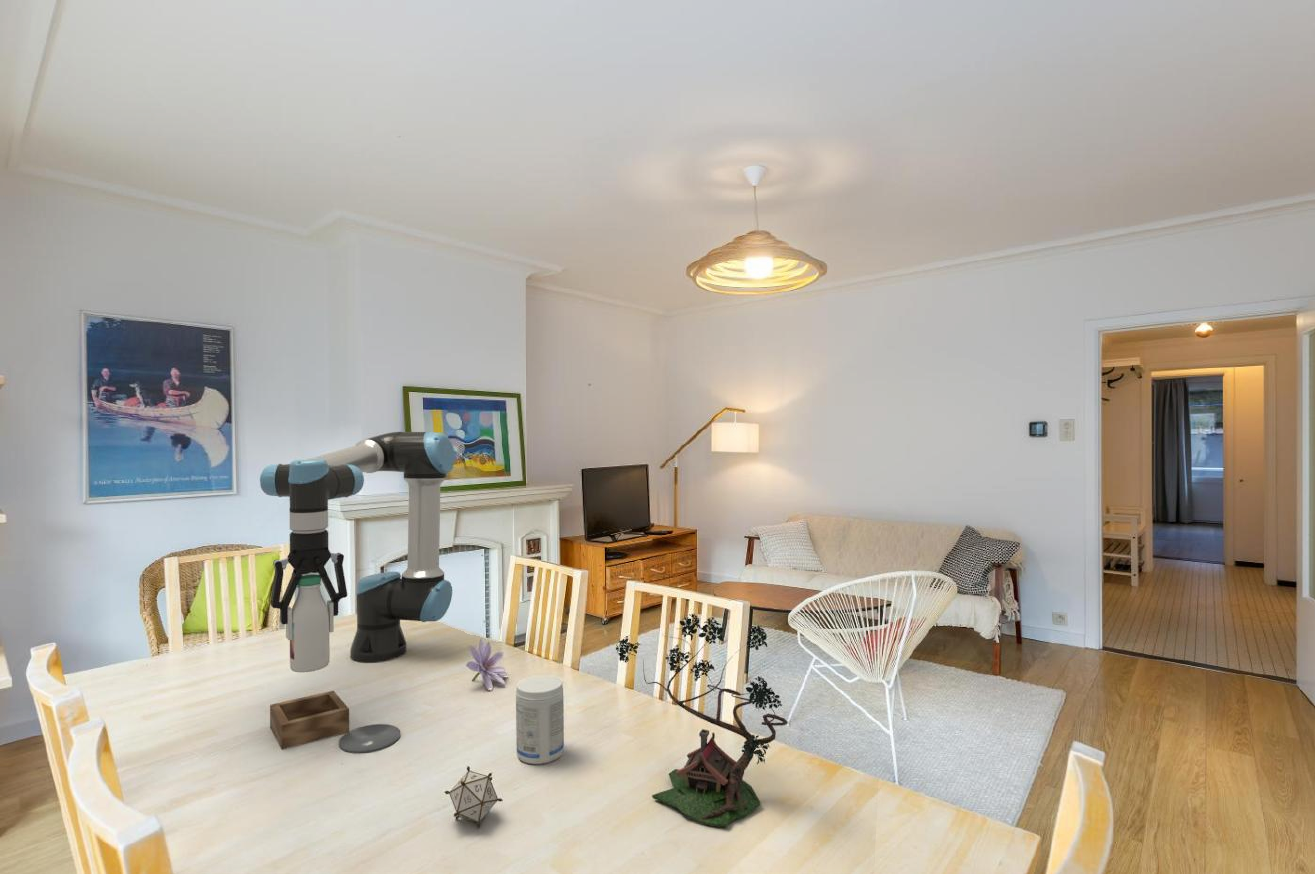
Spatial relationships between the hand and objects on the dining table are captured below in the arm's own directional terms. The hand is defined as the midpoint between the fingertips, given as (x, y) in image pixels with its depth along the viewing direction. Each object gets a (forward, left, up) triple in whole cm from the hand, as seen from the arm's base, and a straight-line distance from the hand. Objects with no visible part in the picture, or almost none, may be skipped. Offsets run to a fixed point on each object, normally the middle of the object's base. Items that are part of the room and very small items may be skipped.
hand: (310, 634), depth 147 cm
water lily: (-42, 0, -21) cm, 47 cm away
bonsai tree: (-51, +69, -21) cm, 88 cm away
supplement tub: (-34, +41, -21) cm, 57 cm away
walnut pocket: (0, 0, -21) cm, 21 cm away
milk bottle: (0, 0, -7) cm, 7 cm away
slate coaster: (-9, +13, -21) cm, 26 cm away
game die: (-14, +54, -21) cm, 60 cm away
